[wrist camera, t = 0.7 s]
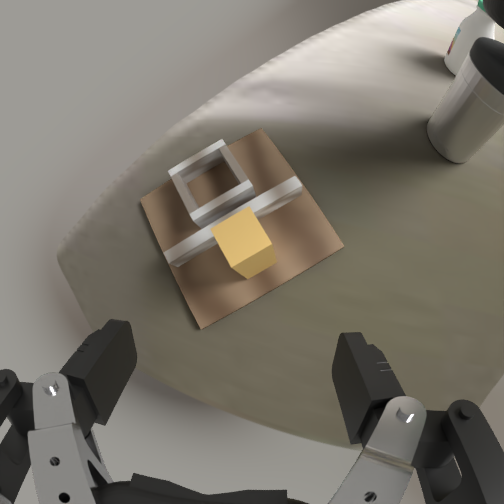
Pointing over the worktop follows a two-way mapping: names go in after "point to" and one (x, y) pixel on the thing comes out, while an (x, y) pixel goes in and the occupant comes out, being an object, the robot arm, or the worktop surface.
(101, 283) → the worktop surface
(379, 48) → the worktop surface
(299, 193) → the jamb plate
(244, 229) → the block
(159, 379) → the worktop surface
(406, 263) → the worktop surface
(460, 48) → the milk bottle
